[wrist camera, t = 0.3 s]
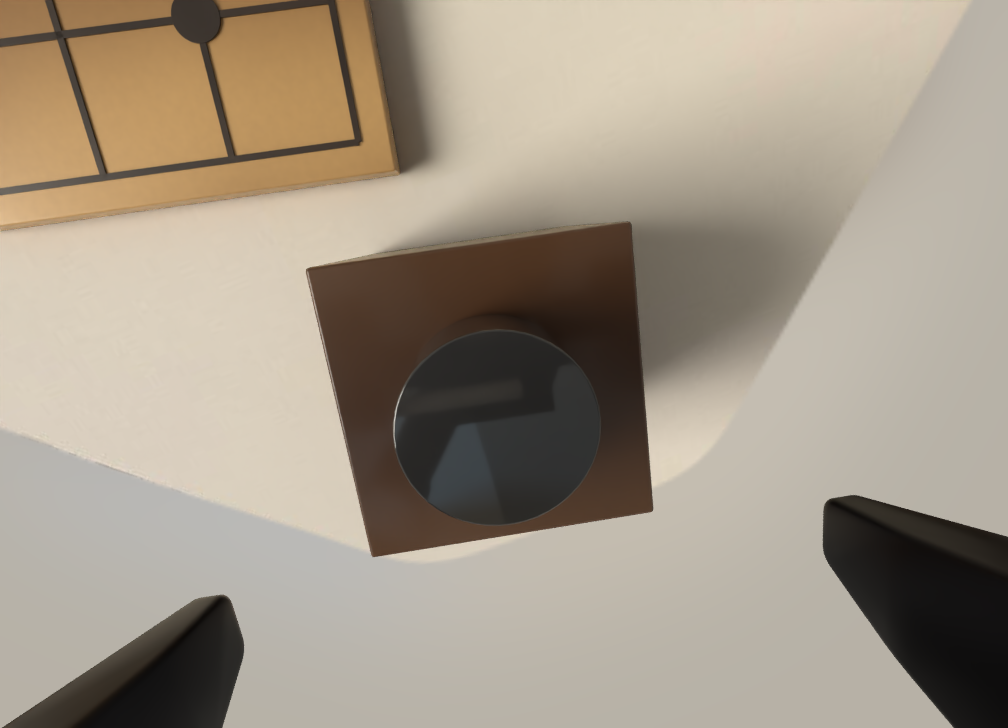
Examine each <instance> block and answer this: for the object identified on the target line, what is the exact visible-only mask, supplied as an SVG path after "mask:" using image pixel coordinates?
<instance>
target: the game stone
mask: <svg viewBox="0 0 1008 728" xmlns="http://www.w3.org/2000/svg"><path fill="white" fill-rule="evenodd" d="M600 434H601V415H600V409H599V403H598V400H597V397H596V394H595V391H594V389H593V387H592V384H591V382H590V380H589V379H588V377H587V376H586V374H585V373H584V371H583V370H582V368H581V367H580V366H579V365H578V363H577V362H576V361H575V360H574V359H573V357H572V356H571V355H570V354H569V353H568V351H567V350H566V349H565V348H564V347H563V346H562V344H561V343H560V342H559V341H558V340H557V339H556V338H555V337H554V336H553V335H551V334H550V333H549V332H548V331H547V330H545V329H543V328H542V327H540V326H539V325H537V324H535V323H533V322H531V321H529V320H526V319H523V318H520V317H517V316H511V315H506V314H482V315H477V316H472V317H468V318H465V319H462V320H459V321H457V322H455V323H453V324H451V325H449V326H447V327H445V328H444V329H443V330H441V331H440V332H438V333H437V334H436V335H435V336H434V337H432V338H431V339H430V340H429V341H428V342H427V343H426V344H425V346H424V347H423V348H422V349H421V350H420V352H419V354H418V355H417V357H416V358H415V360H414V362H413V364H412V366H411V369H410V371H409V373H408V375H407V378H406V380H405V382H404V385H403V387H402V389H401V392H400V394H399V396H398V400H397V403H396V406H395V410H394V417H393V442H394V449H395V452H396V456H397V459H398V462H399V464H400V467H401V469H402V471H403V473H404V475H405V476H406V478H407V480H408V481H409V483H410V484H411V485H412V487H413V488H414V489H415V490H416V492H417V493H418V494H419V495H420V496H421V497H422V498H423V499H425V500H426V501H427V502H428V503H429V504H431V505H432V506H433V507H435V508H436V509H438V510H439V511H441V512H443V513H445V514H447V515H448V516H451V517H453V518H456V519H458V520H461V521H465V522H468V523H472V524H478V525H486V526H502V525H512V524H517V523H521V522H525V521H528V520H531V519H534V518H537V517H539V516H541V515H543V514H545V513H547V512H549V511H551V510H552V509H554V508H555V507H557V506H558V505H560V504H561V503H562V502H563V501H565V500H566V499H567V498H568V497H569V496H570V495H571V494H572V493H573V492H574V491H575V490H576V489H577V488H578V487H579V485H580V484H581V483H582V481H583V480H584V479H585V477H586V476H587V474H588V472H589V470H590V468H591V466H592V464H593V462H594V459H595V457H596V454H597V450H598V446H599V442H600Z"/></svg>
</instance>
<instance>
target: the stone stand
mask: <svg viewBox="0 0 1008 728" xmlns="http://www.w3.org/2000/svg"><path fill="white" fill-rule="evenodd" d="M306 275H307V279H308V283H309V288H310V292H311V296H312V301H313V305H314V309H315V314H316V318H317V322H318V326H319V331H320V335H321V339H322V344H323V348H324V352H325V357H326V361H327V365H328V370H329V374H330V378H331V383H332V387H333V391H334V396H335V400H336V404H337V409H338V413H339V417H340V421H341V426H342V430H343V434H344V439H345V443H346V447H347V452H348V456H349V460H350V465H351V469H352V473H353V478H354V482H355V486H356V491H357V495H358V499H359V504H360V508H361V512H362V516H363V521H364V525H365V529H366V534H367V538H368V542H369V547H370V551H371V555H372V556H373V557H377V556H384V555H390V554H396V553H402V552H408V551H414V550H421V549H427V548H433V547H439V546H445V545H451V544H457V543H464V542H470V541H476V540H482V539H488V538H494V537H501V536H507V535H513V534H519V533H525V532H531V531H538V530H544V529H550V528H556V527H562V526H568V525H574V524H580V523H587V522H592V521H599V520H605V519H611V518H617V517H624V516H630V515H636V514H642V513H648V512H652V511H653V499H652V486H651V473H650V460H649V447H648V434H647V421H646V408H645V395H644V382H643V369H642V356H641V343H640V330H639V317H638V304H637V291H636V278H635V265H634V252H633V239H632V226H631V223H630V222H628V221H627V222H615V223H602V224H589V225H576V226H563V227H556V228H550V229H543V230H536V231H529V232H522V233H515V234H508V235H501V236H494V237H488V238H481V239H474V240H467V241H460V242H453V243H446V244H439V245H432V246H426V247H419V248H412V249H405V250H398V251H391V252H384V253H377V254H371V255H367V256H362V257H357V258H353V259H348V260H343V261H339V262H334V263H329V264H324V265H320V266H315V267H310V268H308V269H306ZM482 314H506V315H511V316H517V317H520V318H523V319H526V320H529V321H531V322H533V323H535V324H537V325H539V326H540V327H542V328H543V329H545V330H547V331H548V332H549V333H550V334H551V335H553V336H554V337H555V338H556V339H557V340H558V341H559V342H560V343H561V344H562V346H563V347H564V348H565V349H566V350H567V351H568V353H569V354H570V355H571V356H572V357H573V359H574V360H575V361H576V362H577V363H578V365H579V366H580V367H581V368H582V370H583V371H584V373H585V374H586V376H587V377H588V379H589V380H590V382H591V384H592V387H593V389H594V391H595V394H596V397H597V400H598V403H599V409H600V415H601V434H600V442H599V446H598V450H597V454H596V457H595V459H594V462H593V464H592V466H591V468H590V470H589V472H588V474H587V476H586V477H585V479H584V480H583V481H582V483H581V484H580V485H579V487H578V488H577V489H576V490H575V491H574V492H573V493H572V494H571V495H570V496H569V497H568V498H567V499H566V500H565V501H563V502H562V503H561V504H560V505H558V506H557V507H555V508H554V509H552V510H551V511H549V512H547V513H545V514H543V515H541V516H539V517H537V518H534V519H531V520H528V521H525V522H521V523H517V524H512V525H502V526H486V525H478V524H472V523H468V522H465V521H461V520H458V519H456V518H453V517H451V516H448V515H447V514H445V513H443V512H441V511H439V510H438V509H436V508H435V507H433V506H432V505H431V504H429V503H428V502H427V501H426V500H425V499H423V498H422V497H421V496H420V495H419V494H418V493H417V492H416V490H415V489H414V488H413V487H412V485H411V484H410V483H409V481H408V480H407V478H406V476H405V475H404V473H403V471H402V469H401V467H400V464H399V462H398V459H397V456H396V452H395V449H394V442H393V417H394V410H395V406H396V403H397V400H398V396H399V394H400V392H401V389H402V387H403V385H404V382H405V380H406V378H407V375H408V373H409V371H410V369H411V366H412V364H413V362H414V360H415V358H416V357H417V355H418V354H419V352H420V350H421V349H422V348H423V347H424V346H425V344H426V343H427V342H428V341H429V340H430V339H431V338H432V337H434V336H435V335H436V334H437V333H438V332H440V331H441V330H443V329H444V328H445V327H447V326H449V325H451V324H453V323H455V322H457V321H459V320H462V319H465V318H468V317H472V316H477V315H482Z"/></svg>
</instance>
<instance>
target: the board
mask: <svg viewBox="0 0 1008 728" xmlns="http://www.w3.org/2000/svg"><path fill="white" fill-rule="evenodd" d="M399 174H400V170H399V164H398V159H397V153H396V148H395V142H394V136H393V131H392V125H391V120H390V114H389V108H388V103H387V97H386V92H385V86H384V81H383V75H382V69H381V64H380V58H379V53H378V47H377V41H376V36H375V30H374V25H373V19H372V13H371V8H370V2H369V0H0V231H4V230H11V229H18V228H25V227H32V226H39V225H47V224H54V223H61V222H68V221H75V220H82V219H89V218H96V217H103V216H110V215H118V214H125V213H132V212H139V211H146V210H153V209H160V208H167V207H174V206H181V205H189V204H196V203H203V202H210V201H217V200H224V199H231V198H238V197H245V196H252V195H260V194H267V193H274V192H281V191H288V190H295V189H302V188H309V187H316V186H324V185H331V184H338V183H345V182H352V181H359V180H366V179H373V178H380V177H387V176H395V175H399Z"/></svg>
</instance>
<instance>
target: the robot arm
mask: <svg viewBox="0 0 1008 728" xmlns="http://www.w3.org/2000/svg"><path fill="white" fill-rule="evenodd" d="M823 513H824V514H823V515H824V516H823V551H824V555H825V558H826V560H827V562H828V564H829V565H830V567H831V568H832V570H833V571H834V572H835V574H836V575H837V577H838V578H839V579H840V581H841V582H842V584H843V585H844V586H845V588H846V589H847V591H848V592H849V594H850V595H851V596H852V598H853V599H854V601H855V602H856V604H857V605H858V606H859V608H860V609H861V611H862V612H863V614H864V615H865V616H866V618H867V619H868V621H869V622H870V623H871V625H872V626H873V627H874V629H875V631H876V632H877V633H878V635H879V636H880V638H881V639H882V640H883V642H884V643H885V645H886V646H887V647H888V649H889V650H890V651H891V652H892V654H893V655H894V657H895V658H896V659H897V660H898V662H899V663H900V664H901V665H902V666H903V668H904V669H905V670H906V671H907V673H908V674H909V675H910V676H911V678H912V679H913V680H914V681H915V682H916V683H917V685H918V686H919V687H920V688H921V689H922V691H923V692H924V693H925V694H926V695H927V696H928V698H929V699H930V700H931V701H932V702H933V703H934V705H935V706H936V707H937V708H938V709H939V711H940V712H941V713H942V714H943V715H944V717H945V718H946V719H947V720H948V721H949V723H950V724H951V725H952V726H953V727H954V728H1008V537H1007V536H1003V535H999V534H995V533H992V532H988V531H985V530H981V529H977V528H974V527H970V526H966V525H963V524H959V523H955V522H951V521H948V520H945V519H941V518H937V517H934V516H930V515H926V514H923V513H919V512H915V511H912V510H908V509H905V508H901V507H897V506H894V505H890V504H886V503H883V502H879V501H876V500H872V499H868V498H864V497H860V496H857V495H850V496H844V497H838V498H832V499H829V500H828V501H827V502H826V503H825V506H824V511H823ZM243 654H244V641H243V637H242V634H241V631H240V627H239V624H238V621H237V618H236V615H235V612H234V608H233V606H232V603H231V600H230V599H229V598H228V597H227V596H225V595H216V596H209V597H203V598H198V599H195V600H193V601H192V602H191V603H189V604H187V605H186V606H184V607H183V608H181V609H180V610H179V611H177V612H175V613H174V614H172V615H171V616H169V617H168V618H166V619H165V620H163V621H162V622H160V623H159V624H157V625H156V626H154V627H153V628H152V629H150V630H148V631H147V632H145V633H144V634H142V635H141V636H139V637H138V638H136V639H135V640H133V641H132V642H130V643H129V644H127V645H126V646H124V647H123V648H121V649H120V650H118V651H117V652H115V653H114V654H112V655H111V656H109V657H108V658H106V659H105V660H103V661H102V662H100V663H99V664H97V665H96V666H94V667H93V668H91V669H90V670H88V671H87V672H85V673H84V674H82V675H81V676H79V677H78V678H76V679H75V680H73V681H72V682H70V683H69V684H67V685H66V686H64V687H63V688H61V689H60V690H58V691H57V692H55V693H54V694H52V695H51V696H49V697H48V698H46V699H45V700H43V701H42V702H40V703H39V704H37V705H36V706H34V707H33V708H31V709H30V710H28V711H27V712H25V713H23V714H22V715H20V716H19V717H17V718H16V719H14V720H13V721H11V722H10V723H8V724H7V725H6V726H4V727H2V728H222V727H223V723H224V720H225V717H226V713H227V710H228V706H229V703H230V700H231V696H232V693H233V689H234V686H235V683H236V680H237V676H238V673H239V670H240V666H241V663H242V659H243Z"/></svg>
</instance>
